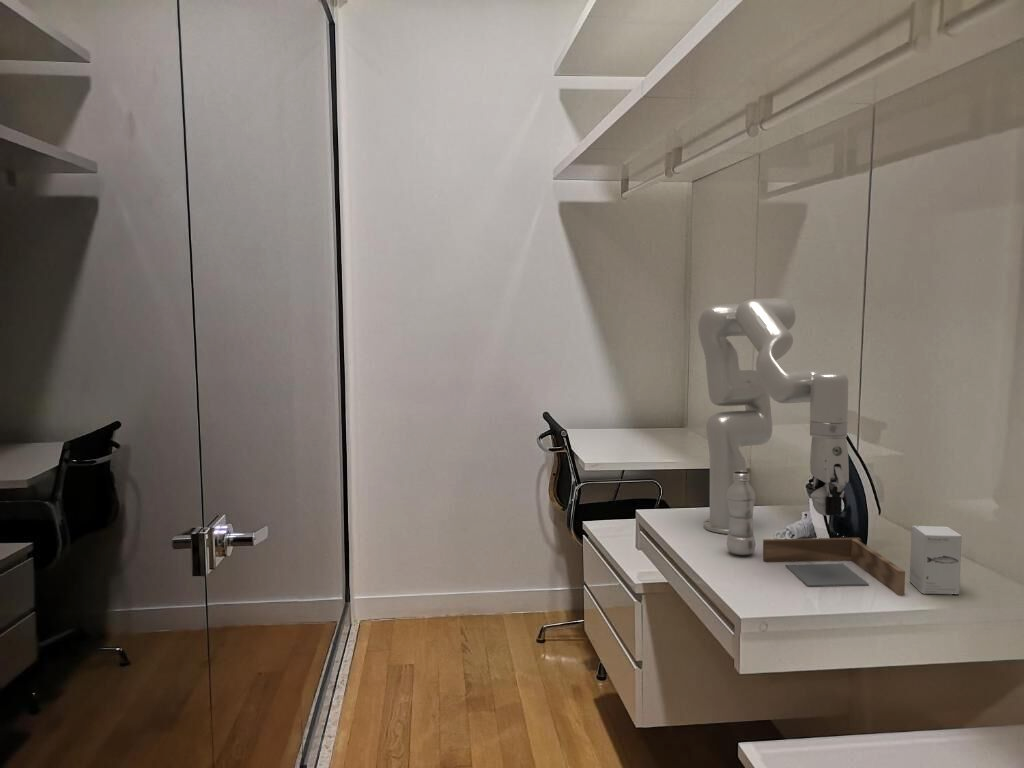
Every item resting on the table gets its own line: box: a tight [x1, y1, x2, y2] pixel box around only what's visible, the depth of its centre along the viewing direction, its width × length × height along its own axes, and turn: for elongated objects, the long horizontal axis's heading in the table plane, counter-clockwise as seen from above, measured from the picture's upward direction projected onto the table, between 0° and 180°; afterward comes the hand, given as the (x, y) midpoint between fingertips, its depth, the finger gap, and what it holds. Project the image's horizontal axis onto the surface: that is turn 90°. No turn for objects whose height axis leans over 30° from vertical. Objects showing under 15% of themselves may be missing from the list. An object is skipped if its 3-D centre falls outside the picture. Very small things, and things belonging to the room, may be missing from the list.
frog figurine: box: [809, 484, 845, 517], centre depth 169 cm, size 6×7×7 cm
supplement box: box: [909, 525, 963, 595], centre depth 161 cm, size 7×7×13 cm
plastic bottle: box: [726, 471, 756, 556], centre depth 185 cm, size 6×7×20 cm
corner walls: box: [762, 537, 906, 596], centre depth 170 cm, size 23×22×5 cm
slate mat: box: [785, 563, 870, 588], centre depth 170 cm, size 13×13×1 cm
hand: (826, 509), depth 169 cm, fingers closed on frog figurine, 6 cm apart
